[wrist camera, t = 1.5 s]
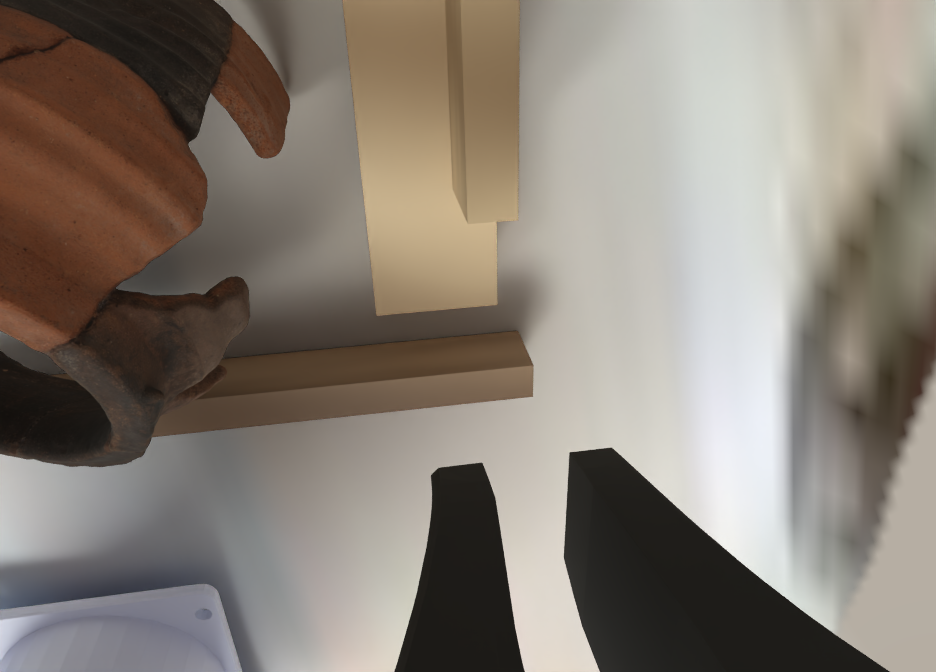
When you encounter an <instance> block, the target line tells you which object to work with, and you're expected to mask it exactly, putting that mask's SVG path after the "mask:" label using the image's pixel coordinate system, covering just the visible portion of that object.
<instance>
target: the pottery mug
mask: <svg viewBox="0 0 936 672" xmlns="http://www.w3.org/2000/svg"><path fill="white" fill-rule="evenodd" d="M210 93H211V94H212V95H213V96H214V97H215V98H216V99H217V101H218V102H219V103H220V104H221V105H222V106H223V107H224V108H225V109H226V110H227V111H228V113H229V114H230V116H231V117H232V118H233V120H234V121H235V122H236V123H237V124H238V126H239V128H240V129H241V131H242V132H243V134H244V135H245V137H246V138H247V140H248V141H249V143H250V144H251V146H252V148H253V149H254V151H255V153H256V154H257V155H258V156H259V157H261V158H271V157H274V156H276V155H277V154H278V153H279V152H280V151H281V149H282V147H283V144H284V140H285V128H286V125H287V116H288V113H289V110H290V100H289V96H288V94H287V92H286V91H285V89H284V86H283V84H282V82H281V80H280V78H279V76H278V74H277V72H276V71H275V69H274V68H273V66H272V65H271V63H270V62H269V61H268V59H267V57H266V56H265V54H264V53H263V51H262V50H261V49H260V48H259V46H258V45H257V44H256V43H255V42H254V41H253V40H252V39H251V37H250V36H249V35H248V34H247V33H246V32H245V30H244V29H243V28H242V27H241V26H239V25H238V24H237V23H236V22H235V21H234V20H233V19H232V18H231V16H230V15H229V14H228V13H227V12H226V11H225V10H224V9H223V8H222V7H221V6H220V5H218V4H217V3H216V2H215V1H214V0H0V331H2V332H4V333H6V334H8V335H10V336H12V337H14V338H16V339H17V340H19V341H21V342H23V343H24V344H26V345H27V346H29V347H30V348H32V349H34V350H36V351H39V352H42V353H44V354H46V355H48V356H49V357H50V358H51V359H52V360H53V361H54V362H55V364H56V365H58V366H59V367H60V368H61V369H63V370H64V371H65V372H66V373H67V374H68V375H69V376H70V377H72V378H73V379H74V380H69V379H64V378H59V377H55V376H51V375H47V374H45V373H41V372H37V371H33V370H31V369H28V368H26V367H24V366H23V365H21V364H20V363H18V362H17V361H15V360H13V359H11V358H9V357H7V356H6V355H5V354H4V353H3V352H1V351H0V454H3V455H7V456H13V457H19V458H23V459H35V460H39V461H42V462H47V463H53V464H60V465H65V466H69V467H75V466H76V467H77V466H89V467H105V466H113V465H122V464H127V463H128V462H131V461H132V460H135V459H137V458H139V457H141V456H143V455H144V453H145V451H146V448H147V447H148V446H149V444H150V441H151V438H152V434H153V433H154V428H155V426H156V424H157V422H158V420H159V418H160V416H162V415H164V414H168V413H170V412H172V411H174V410H177V409H179V408H181V407H183V406H185V405H187V404H189V403H190V402H192V401H193V400H195V399H197V398H199V397H200V396H202V395H204V394H205V393H207V392H208V391H209V390H210V389H211V388H212V387H213V386H214V385H215V384H217V383H218V382H220V381H221V380H223V379H224V378H225V377H226V375H227V370H226V368H225V367H223V366H221V365H218V364H219V363H220V361H221V360H222V358H223V356H224V354H225V351H226V349H227V346H228V344H229V342H230V341H231V340H232V339H234V338H235V337H236V336H237V335H238V334H240V333H241V332H242V331H243V330H244V328H245V327H246V326H247V324H248V321H249V317H250V311H249V290H248V287H247V284H246V283H245V281H244V279H242V278H241V277H238V276H235V277H229V278H226V279H225V280H223V281H221V282H219V283H218V284H217V285H216V286H214V287H213V288H212V289H210V290H209V291H208V292H207V293H206V294H204V295H201V294H196V293H189V294H185V295H160V296H154V295H148V294H144V293H140V292H129V291H123V290H118V289H116V287H117V286H118V285H119V284H120V283H121V282H123V281H124V280H127V279H129V278H131V277H133V276H134V275H136V274H138V273H139V272H140V271H142V270H143V269H144V268H145V267H146V265H147V264H149V263H150V262H151V261H152V260H154V259H155V258H157V257H159V256H161V255H162V254H163V253H165V252H166V251H168V250H169V249H170V248H172V247H173V246H174V245H175V244H176V243H178V242H179V241H180V240H182V239H183V238H185V237H187V236H188V235H190V234H191V233H192V232H193V231H195V230H196V229H197V228H198V227H199V226H200V225H201V223H202V220H203V210H204V209H205V206H206V202H207V198H208V197H207V186H208V185H207V178H206V176H205V173H204V172H203V170H202V168H201V166H200V165H199V163H198V161H197V159H196V157H195V155H194V154H193V153H192V152H191V150H190V148H189V146H188V143H189V142H190V141H192V140H193V139H195V138H196V137H197V135H198V133H199V129H200V126H201V123H202V119H203V115H204V112H205V105H206V103H207V100H208V98H209V95H210ZM75 380H76V381H75Z"/></svg>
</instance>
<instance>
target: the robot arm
mask: <svg viewBox="0 0 936 672" xmlns="http://www.w3.org/2000/svg"><path fill="white" fill-rule="evenodd" d="M431 482H432V511H431V521H430V528H429V535H428V542H427V548H426V552H425V557H424V562H423V567H422V571H421V576H420V581H419V586H418V590H417V595H416V599H415V603H414V606H413V610H412V613H411V617H410V620H409V624H408V627H407V631H406V634H405V638H404V641H403V645H402V648H401V652H400V655H399V659H398V662H397V665H396V669H395V672H525V671H524V667H523V664H522V659H521V654H520V649H519V645H518V640H517V635H516V630H515V624H514V617H513V611H512V604H511V598H510V591H509V584H508V578H507V571H506V565H505V558H504V551H503V545H502V538H501V532H500V525H499V519H498V512H497V506H496V500H495V496H494V493H493V490H492V487H491V484H490V481H489V479H488V476H487V474H486V471H485V468H484V466H483V463H476V464H467V465H459V466H450V467H442V468H438V469H437V470H436V471H435V472H434V473H433V474H432V475H431ZM564 560H565V564H566V568H567V571H568V575H569V579H570V583H571V587H572V591H573V594H574V598H575V602H576V605H577V609H578V612H579V616H580V620H581V623H582V627H583V629H584V632H585V634H586V637H587V640H588V642H589V645H590V647H591V650H592V653H593V655H594V658H595V660H596V663H597V665H598V668H599V671H600V672H889V671H888V670H886V669H885V668H883V667H882V666H880V665H879V664H877V663H876V662H874V661H873V660H872V659H870V658H869V657H867V656H866V655H864V654H863V653H861V652H860V651H858V650H857V649H855V648H854V647H852V646H851V645H849V644H848V643H847V642H845V641H844V640H842V639H841V638H839V637H838V636H836V635H835V634H833V633H832V632H831V631H829V630H828V629H827V628H825V627H824V626H822V625H821V624H820V623H818V622H817V621H815V620H814V619H813V618H811V617H810V616H809V615H807V614H806V613H804V612H803V611H802V610H801V609H799V608H798V607H797V606H795V605H794V604H793V603H791V602H790V601H789V600H788V599H786V598H785V597H784V596H782V595H781V594H780V593H778V592H777V591H776V590H775V589H773V588H772V587H771V586H769V585H768V584H767V583H765V582H764V581H763V580H762V579H760V578H759V577H758V576H757V575H756V574H754V573H753V572H752V571H751V570H749V569H748V568H747V567H746V566H744V565H743V564H742V563H741V562H740V561H738V560H737V559H736V558H735V557H734V556H732V555H731V554H730V553H729V552H728V551H727V550H725V549H724V548H723V547H722V546H721V545H720V544H718V543H717V542H716V541H715V540H714V539H713V538H711V537H710V536H709V535H708V534H707V533H705V532H704V531H703V530H702V529H701V528H700V527H698V526H697V525H696V524H695V523H694V522H693V521H692V520H691V519H689V518H688V517H687V516H686V515H685V514H684V513H683V512H682V511H680V510H679V509H678V508H677V507H676V506H675V505H674V504H673V503H672V502H671V501H669V500H668V499H667V498H666V497H665V496H664V495H663V494H662V493H661V492H660V491H658V490H657V489H656V488H655V487H654V486H653V485H652V484H651V483H650V482H649V481H648V480H647V479H646V478H644V477H643V476H642V475H641V474H640V473H639V472H638V471H637V470H636V469H635V468H634V467H633V466H631V465H630V464H629V463H628V462H627V461H626V460H625V459H624V458H623V457H622V456H621V455H619V454H618V453H617V452H616V451H615V450H614V449H613V448H604V449H596V450H587V451H579V452H570V455H569V474H568V492H567V510H566V528H565V546H564ZM203 609H208V610H203ZM0 672H242V669H241V665H240V662H239V659H238V656H237V652H236V649H235V646H234V642H233V639H232V636H231V633H230V629H229V626H228V623H227V619H226V616H225V613H224V610H223V606H222V603H221V600H220V596H219V593H218V591H217V590H216V588H214V587H213V586H211V585H208V584H194V585H187V586H179V587H171V588H164V589H156V590H148V591H141V592H133V593H125V594H118V595H110V596H103V597H95V598H87V599H80V600H72V601H64V602H57V603H49V604H41V605H34V606H26V607H18V608H11V609H3V610H0Z"/></svg>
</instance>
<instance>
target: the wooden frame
mask: <svg viewBox="0 0 936 672" xmlns="http://www.w3.org/2000/svg"><path fill="white" fill-rule="evenodd" d="M218 365H221V366H223V367H225V368H226V370H227V375H226V377H225V378H224V379H223V380H221V381H220V382H218V383H217V384H215V385H214V386H213V387H212V388H211V389H210V390H209V391H208V392H207V393H205V394H204V395H202V396H200V397H199V398H197V399H195V400H193V401H192V402H190V403H189V404H187V405H185V406H183V407H181V408H179V409H177V410H174V411H172V412H170V413H168V414H164V415H162V416H160V418H159V420H158V422H157V424H156V426H155V428H154V433H153V434H152V437H158V436H167V435H177V434H186V433H196V432H205V431H214V430H224V429H233V428H242V427H252V426H261V425H271V424H280V423H289V422H299V421H308V420H318V419H327V418H336V417H346V416H355V415H365V414H374V413H383V412H393V411H402V410H412V409H421V408H430V407H440V406H449V405H458V404H468V403H477V402H487V401H496V400H505V399H515V398H524V397H533V363H532V361H531V359H530V357H529V354H528V352H527V350H526V348H525V345H524V343H523V341H522V339H521V336H520V334H519V332H518V331H510V332H500V333H489V334H479V335H468V336H458V337H447V338H437V339H426V340H416V341H405V342H395V343H384V344H374V345H363V346H353V347H342V348H331V349H321V350H310V351H300V352H289V353H279V354H268V355H258V356H247V357H237V358H226V359H222V360H221V361H220V363H219V364H218ZM51 376H55V377H59V378H64V379H69V380H74V379H73V378H72V377H70V376H69V375H68V374H58V375H51ZM75 381H76V380H75Z"/></svg>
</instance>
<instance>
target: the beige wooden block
mask: <svg viewBox="0 0 936 672" xmlns="http://www.w3.org/2000/svg"><path fill="white" fill-rule="evenodd" d="M342 1H343V11H344V20H345V29H346V38H347V48H348V57H349V66H350V75H351V85H352V94H353V103H354V113H355V122H356V131H357V140H358V150H359V159H360V168H361V177H362V187H363V196H364V205H365V215H366V224H367V233H368V242H369V252H370V261H371V270H372V279H373V289H374V298H375V307H376V316H381V315H392V314H403V313H414V312H425V311H436V310H447V309H458V308H469V307H480V306H491V305H497V222H502V221H515V220H518V166H519V16H520V0H342Z"/></svg>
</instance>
